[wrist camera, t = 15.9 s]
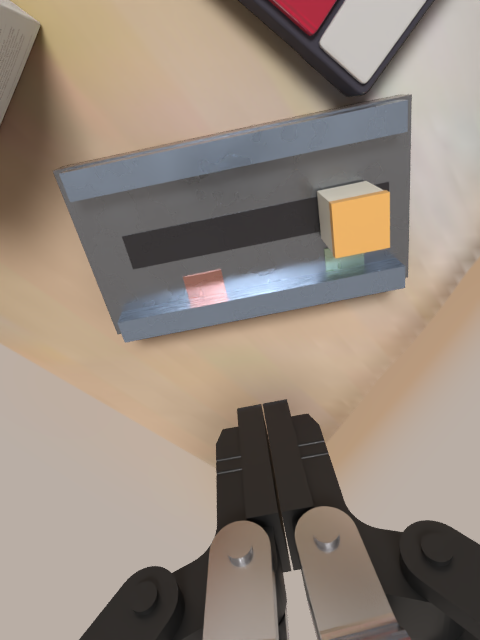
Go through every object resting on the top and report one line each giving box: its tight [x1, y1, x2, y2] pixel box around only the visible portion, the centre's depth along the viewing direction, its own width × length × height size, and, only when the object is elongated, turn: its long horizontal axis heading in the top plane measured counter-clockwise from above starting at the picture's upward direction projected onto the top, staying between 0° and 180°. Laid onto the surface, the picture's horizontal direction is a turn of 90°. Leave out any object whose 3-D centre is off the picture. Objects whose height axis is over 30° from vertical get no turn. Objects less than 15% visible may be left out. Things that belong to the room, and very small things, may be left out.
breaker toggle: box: [317, 181, 390, 259], centre depth 27 cm, size 4×4×4 cm
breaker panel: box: [53, 95, 412, 342], centre depth 30 cm, size 13×24×4 cm, turn 101°
